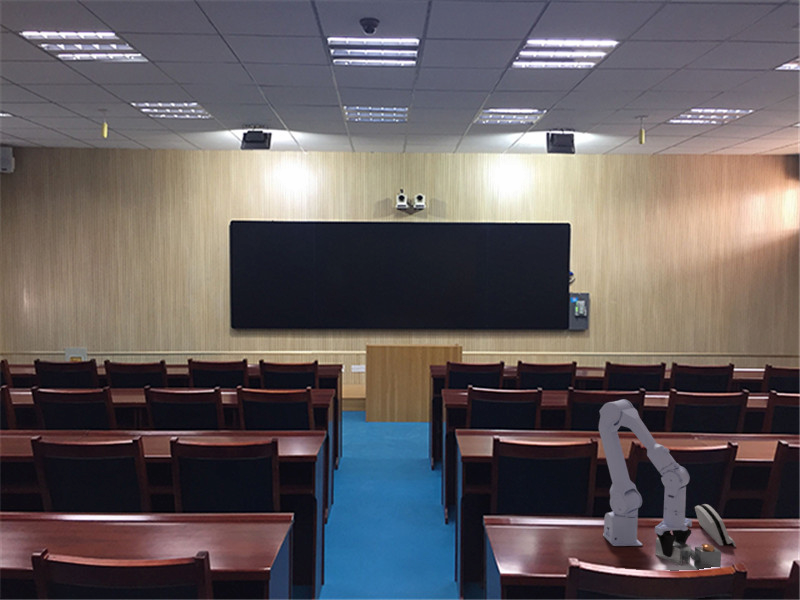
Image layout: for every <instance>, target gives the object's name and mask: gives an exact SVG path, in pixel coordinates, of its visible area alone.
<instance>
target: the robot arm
mask: <svg viewBox="0 0 800 600" xmlns="http://www.w3.org/2000/svg"><path fill="white" fill-rule="evenodd" d="M598 413H599V417H600V418H599V421H598V432H599V435H600V439H601V443H602V447H603V452H604V455H605V459H606V463H607V467H608V470H609V471H608V472H609V475H610V479H611V483H612V484H611V486H610V489H609V495H610V496H609V497H610V498H609V505H610V508H611V510H612V511H610V512H606V513H605V514H604V519H603V520H604V521H603V522H604V523H603V534H602V536H603V537H604V539H606V540H607V541H608V542H609V543H610V545H611V546H614V547H627V546H628V547H630V546H631V547H641V546H643V543H642V542H641V541H640V540H638V520H639V519H638V518H639V509H640V508H641V506H642V504H643V498H642V495H641V493H640V492H639V491H638V489H637V486H636V484H635V483H634V482H633V481H632V480H631V479H630V475H629V470H628V466H627V463H626V459H625V455H624V452H623V448H622V444H621V440H620V437H619V433H618V430H619V429H620V427H625V428H628V429H629V430H631V431H632V433H633V434H634V435H635V436H636V438H638V440H639V442H641V444H642V445H643V446H644V447H645V449H646V450H647V451H646V456H647V458H649V460H650V462H651V463H652V464H653V466H654V467H655V468H656V470H657V471H658V472H659V474H660V475H661V477H660V479H661V483H662V484H663V486H664V498H663V499H664V500H663V517H662V519H663V520H662V521H661V522H660V523H659V524H658V525H655V527H654V533H655V534H656V536H657V538H659V540H660V543H661V547H662V551H663V555H665V556H667V557H671V554H672V547H673V543H674V540H675V539H676V540H678V541H681V542H683V543H685V544H687V541H688V538H689V537H690V536H691V534H692V530H691V529H690V527H692V526H693V520H692V519H690V518H687V517H686V502H687V501H686V500H687V494H686V493H687V492H686V491H687V485H688V484H689V483H690V480H691V478H690V474H689V472H688V470H687V469H686V468H685V467H684V466H681V465H680V464H679V463H677V462H676V460H675V459H674V457H673V456H672V455H671V454H670V452H671V451H670V449H669V448H668V447H665V446H664V445H663V444H659V443H657V441H656V440H655V438H654V437H653V435H652V434H651V432H650V430H648V428H647V426H646V425H645V423H644V422H643V421H642V418H640V415H639V411H638V410H637V409H636V408H635V407H634V406H633V404H632V403H631V401H629V400H627V399H626V398H625V399H624V398H623V399H619V400H615V401H609V402H606V403H604V404H603V406H602V407H601V408H600V410H599V412H598Z"/></svg>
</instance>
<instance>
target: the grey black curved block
mask: <svg viewBox="0 0 800 600" xmlns="http://www.w3.org/2000/svg"><path fill="white" fill-rule="evenodd" d="M694 510H695V513H696V518H697V521H698V523H699V526H700V527H701V528H702V529H703V530H704V531H705V532H706V533H707V534H708V535H709V536H710V537H711V538H712V540H713V541H715V543H717V544H718V546H724V544H727V545H729V544H731V545H732V546H733V547H736V546H737V545H736V542H735V540H734V539H733V538H732V537H731V536H729V533H728V531H727V528H726V526H725V523H724V521H723V519H722V518H721V517H720V515H719V513H718V512H717V511H716V510H715V508H713V507H712V506H711V505H709V504H706V503H704V504H701V505H696V506H694Z"/></svg>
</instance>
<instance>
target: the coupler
mask: <svg viewBox="0 0 800 600" xmlns="http://www.w3.org/2000/svg"><path fill="white" fill-rule="evenodd" d="M690 559H693V561H694V562H693V566H694V567H695V568H696V569H698V570H699V569H704V568H711V567H720V568H721V565H722V562H721V561H722V551H721V550H719V548H717V547H715V546H714V545H713V544H710V543H701V546H695V547H694V549H692V548H691V550H690Z"/></svg>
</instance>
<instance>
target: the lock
mask: <svg viewBox="0 0 800 600" xmlns="http://www.w3.org/2000/svg"><path fill="white" fill-rule="evenodd" d="M691 549H692V546H691V545H690V544H688V543H683V542H681V541H678V540H676V539H675V540H674V543H673V547H672V554H671V557H667V556H665V555H663V551H662V547H661V543H660V540H659V538H658V537H656V538H655V555H656V556H657V557H659V558H661V559H663V560H666V561H668V562H670V563H672V564H674V565H675V566H676V565H677V566H678V567H681V566H682V565H683V564H682V563H683V562H684V563H686V564H689V563H691V556H690V550H691Z"/></svg>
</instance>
